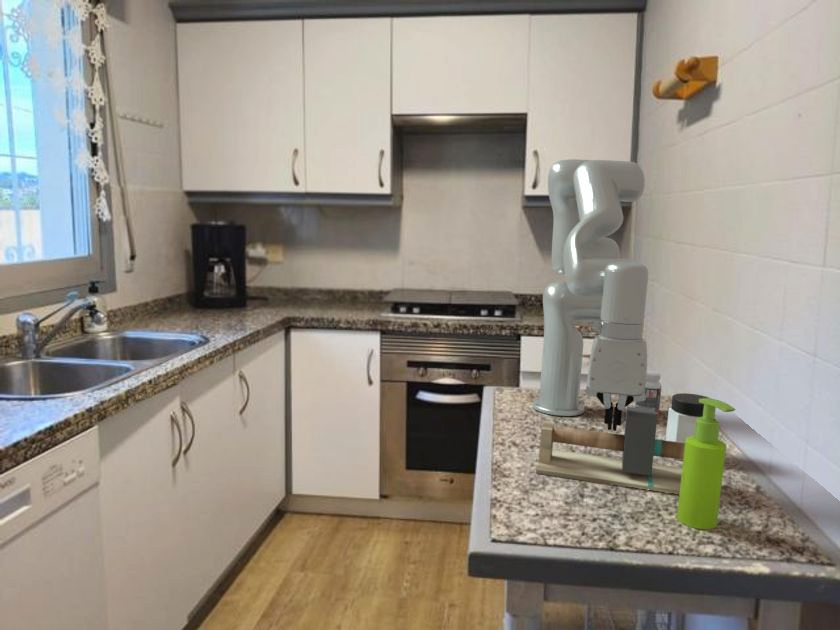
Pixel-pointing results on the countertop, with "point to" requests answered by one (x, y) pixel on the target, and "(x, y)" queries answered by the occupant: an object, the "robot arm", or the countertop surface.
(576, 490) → the countertop surface
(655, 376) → the pill bottle
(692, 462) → the soap dispenser
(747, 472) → the countertop surface
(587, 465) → the pipe rig
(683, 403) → the jar
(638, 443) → the collar
